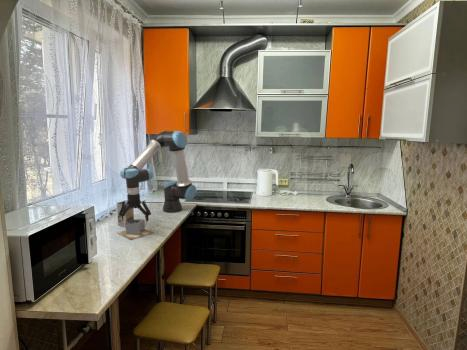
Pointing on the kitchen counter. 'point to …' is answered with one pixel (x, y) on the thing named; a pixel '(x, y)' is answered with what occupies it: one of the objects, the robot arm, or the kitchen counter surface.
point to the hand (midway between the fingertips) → (135, 225)
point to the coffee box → (128, 215)
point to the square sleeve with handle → (135, 227)
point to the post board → (131, 237)
